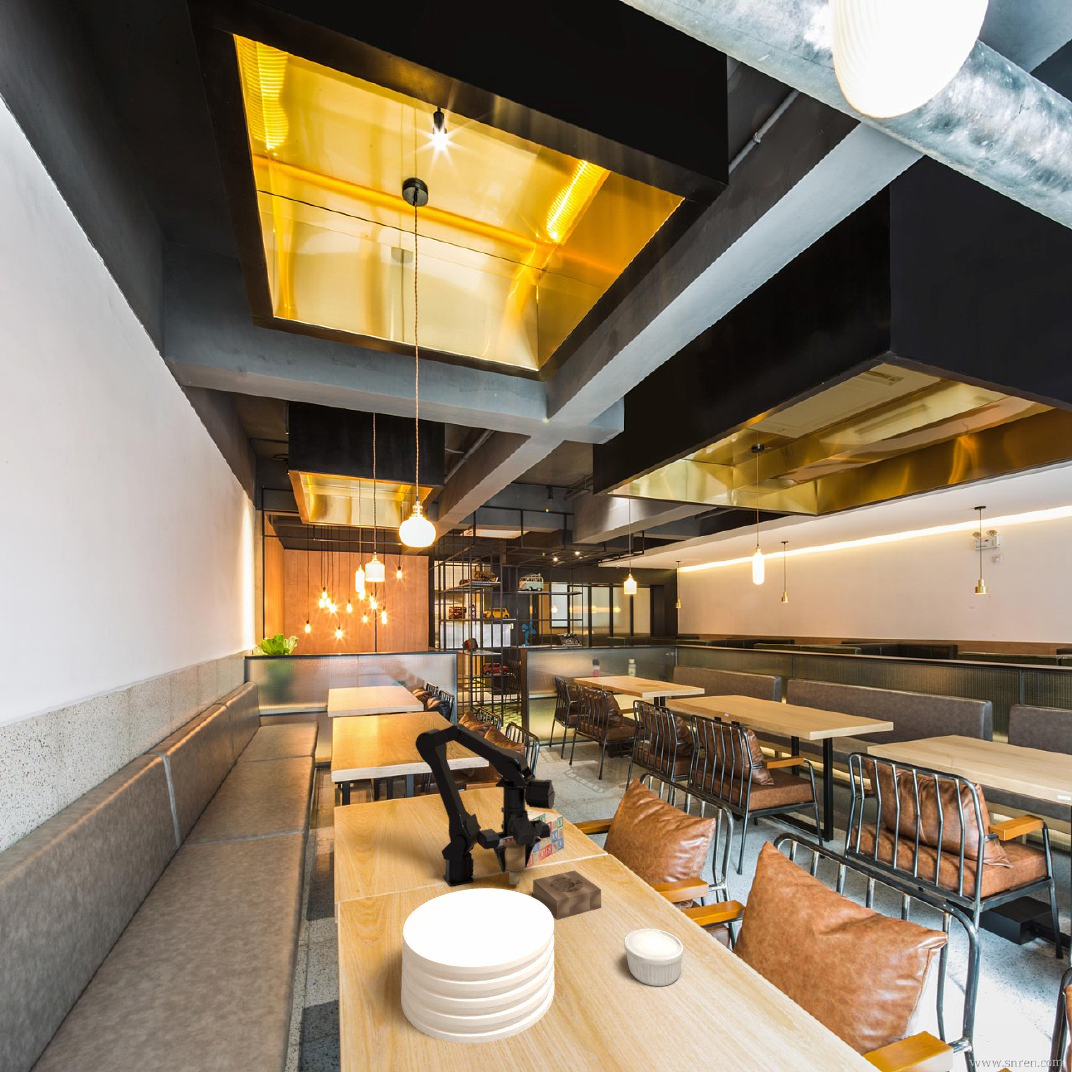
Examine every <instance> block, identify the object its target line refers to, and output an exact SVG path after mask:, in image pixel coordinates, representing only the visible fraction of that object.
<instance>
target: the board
mask: <svg viewBox="0 0 1072 1072" xmlns="http://www.w3.org/2000/svg"><path fill="white" fill-rule="evenodd" d="M532 895H533V896H532V897H533V898H535V899H536V900H538V901H540V902H541V903H542V904H544V905H545V906H546V907H547V908H548V909H549V911H550V912H551V914H552V916H553V918H555V919H556V920H560V919H565V918H567V917H572V916H574V915H579V914H582V913H587V912H591V911H593V910H597V909H601V908H602V889H601V888H600V887H599V886H597V885H595V884H594V883H593V882H591V881H590V879H588V878H586V877H585V876H584V875H582V874H581V873H579V872H578V871H577V870H572V871H571V870H570V871H566V872H562V873H557V874H554V875H548V876H545V877H540V878H536V879H533V881H532Z"/></svg>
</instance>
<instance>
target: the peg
mask: <svg viewBox="0 0 1072 1072" xmlns="http://www.w3.org/2000/svg"><path fill="white" fill-rule="evenodd" d="M504 846H506V850H505V872H508V883H509V885H511V886H517V885H519V884H520V873H521V872H523V871H524V870H525V845H524V846H519V845H517V844H516V841H509V842H506V843H504Z"/></svg>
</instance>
